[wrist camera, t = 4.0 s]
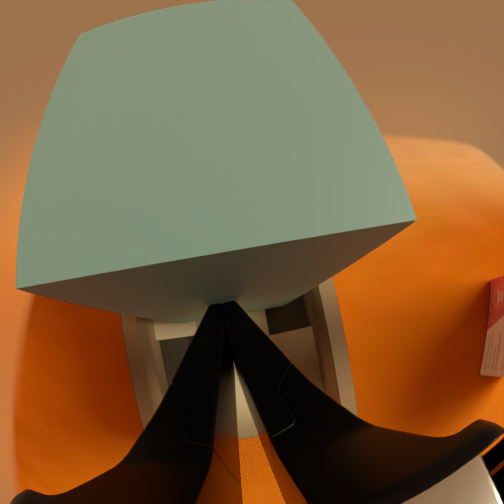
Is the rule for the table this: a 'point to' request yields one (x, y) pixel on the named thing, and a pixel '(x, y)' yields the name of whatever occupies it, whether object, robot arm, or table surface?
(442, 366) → the table surface
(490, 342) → the ink cartridge box
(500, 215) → the table surface
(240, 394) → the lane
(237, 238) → the block
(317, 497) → the robot arm
